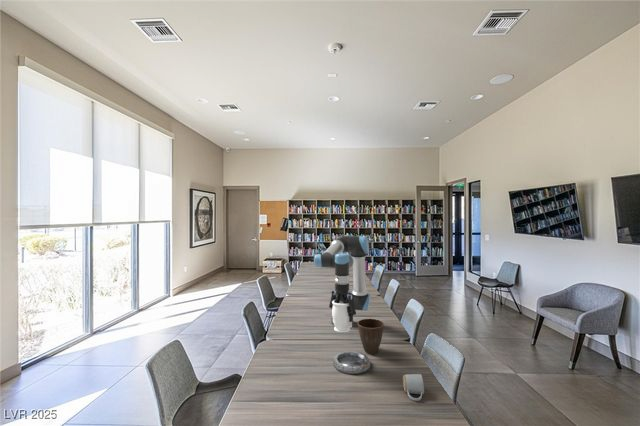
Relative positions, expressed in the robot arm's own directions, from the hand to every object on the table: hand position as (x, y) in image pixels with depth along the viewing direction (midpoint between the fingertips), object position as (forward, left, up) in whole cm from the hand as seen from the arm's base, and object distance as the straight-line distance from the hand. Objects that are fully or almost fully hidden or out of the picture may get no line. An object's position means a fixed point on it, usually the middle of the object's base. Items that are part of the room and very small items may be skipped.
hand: (342, 324), depth 156 cm
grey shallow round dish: (+5, +2, -20) cm, 21 cm away
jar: (0, 0, -3) cm, 3 cm away
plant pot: (+2, +22, -20) cm, 30 cm away
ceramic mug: (+40, +3, -21) cm, 45 cm away
